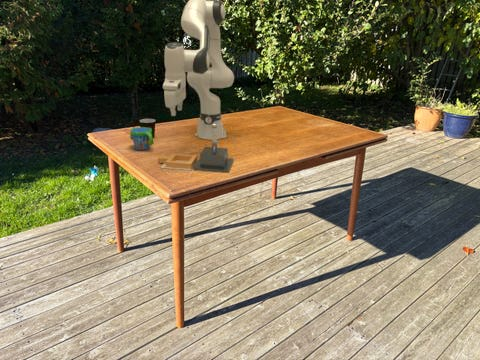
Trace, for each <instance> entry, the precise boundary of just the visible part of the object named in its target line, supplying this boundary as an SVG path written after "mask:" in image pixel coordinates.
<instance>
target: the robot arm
mask: <svg viewBox="0 0 480 360" xmlns="http://www.w3.org/2000/svg"><path fill="white" fill-rule="evenodd" d="M184 5H185V6H183V9H182V15H181V19H180V25H181V28H182V30H183V31H184V33H185V34H187V35H188V36H190V37H192V38H195V39H197V40H199V48H198V49H196V50H195V49H194V50H193V49H185V48H184V44H182V43H181V42H176V41H174V42H169V43H167V44H165V48H164V68H165V74H164V77H165V78H164V82H163V84H162V89H163V93H164V95H163V96H164V103H165V107H166V108H167V109H169V110H170V115H171V117H175V116H176V115H177V111H182V110H183V102H184V100H185V99H186V97H187V92H186V84H187V83H188V85H189V86H190V87H191V88H192V89H194V90H195V92H196V93H197V95H198V97H199V101H200V102H199V104H200V113H199V120H198V122H197V127H196V128H197V129H196V130H197V131H196V132H195V133H194V136H195V137H198V138H199V139H202V140H207V141H209V140H211V141H212V126H211V124H212V123H217V124H218V126H217V140H220V139H226V138H227V130H226V129H225V128H224V124H223V120H222V112H221V99H220V97H219V96H218V95H216V94H214V93H212V92H211V91H210V89H224V88H230V87H232V86H233V83H234V81H235V75H234V72H233V70H231V68H229V67H228V66H227V65H226V63H225V62H224V60H223V56H222V50H221V31H220V29H221V28H220V26H221V25H222V23H223V22H224V20H225V19H226V8H225V7H226V6H225V4H224V3H223V1H221V0H188V1H187V3H186V4H184ZM210 65H211V67H210ZM186 73H187V75H186ZM186 81H187V83H186ZM176 107H177V111H176Z"/></svg>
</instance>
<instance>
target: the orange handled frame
mask: <svg viewBox="0 0 480 360" xmlns="http://www.w3.org/2000/svg"><path fill="white" fill-rule="evenodd" d="M197 159H198V155H197V154H185V153H172V154H171V155H170V156H166V155H159V156H158V157H157V163H160V164H164V163H165V166H166V167H173V168H186V169H192V170H193V168H194V167H193V166H195V165H196V164H195V163H197V162H198V161H197ZM175 160H184V161H188V162H180V161H175ZM196 161H197V162H196ZM194 164H195V165H194ZM192 167H193V168H192Z"/></svg>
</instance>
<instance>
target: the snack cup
mask: <svg viewBox="0 0 480 360" xmlns="http://www.w3.org/2000/svg"><path fill="white" fill-rule="evenodd" d="M129 133H130V137H129V138H130V140H131V141H132V142H133V146H134V149H135V150H137V151H147V150H149V149H150V148H151V146H153V145H154V144H155V143H154V139H153V137H152V134H151V133H152V129H150V128H146V127H140V126H139V127H134V128H131V129H130V130H129Z"/></svg>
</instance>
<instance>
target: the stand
mask: <svg viewBox="0 0 480 360" xmlns="http://www.w3.org/2000/svg"><path fill="white" fill-rule="evenodd" d="M211 126H212V140H211V146H204V148H203V149H202V151H200V153H199V159H198V161H197V162H196V164H195V165H194V167H193V171H200V172H212V173H215V172H216V173H224V174H225V173H226V174H229V172H230V171H231V168H232V165H233V162H234V158H230V157H229V154H228V153H229V148H228V147H227V148H226V147H218V139H217V126H218V124H217V123H212V124H211Z"/></svg>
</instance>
